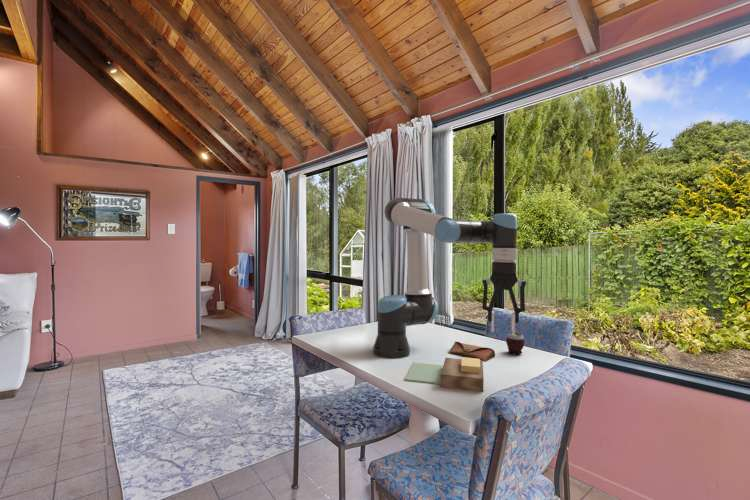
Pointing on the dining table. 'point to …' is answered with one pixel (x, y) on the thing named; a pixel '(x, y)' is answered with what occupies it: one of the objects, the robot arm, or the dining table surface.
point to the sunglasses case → (472, 351)
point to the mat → (425, 373)
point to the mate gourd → (515, 342)
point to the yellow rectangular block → (470, 365)
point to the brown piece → (460, 376)
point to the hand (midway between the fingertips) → (502, 331)
